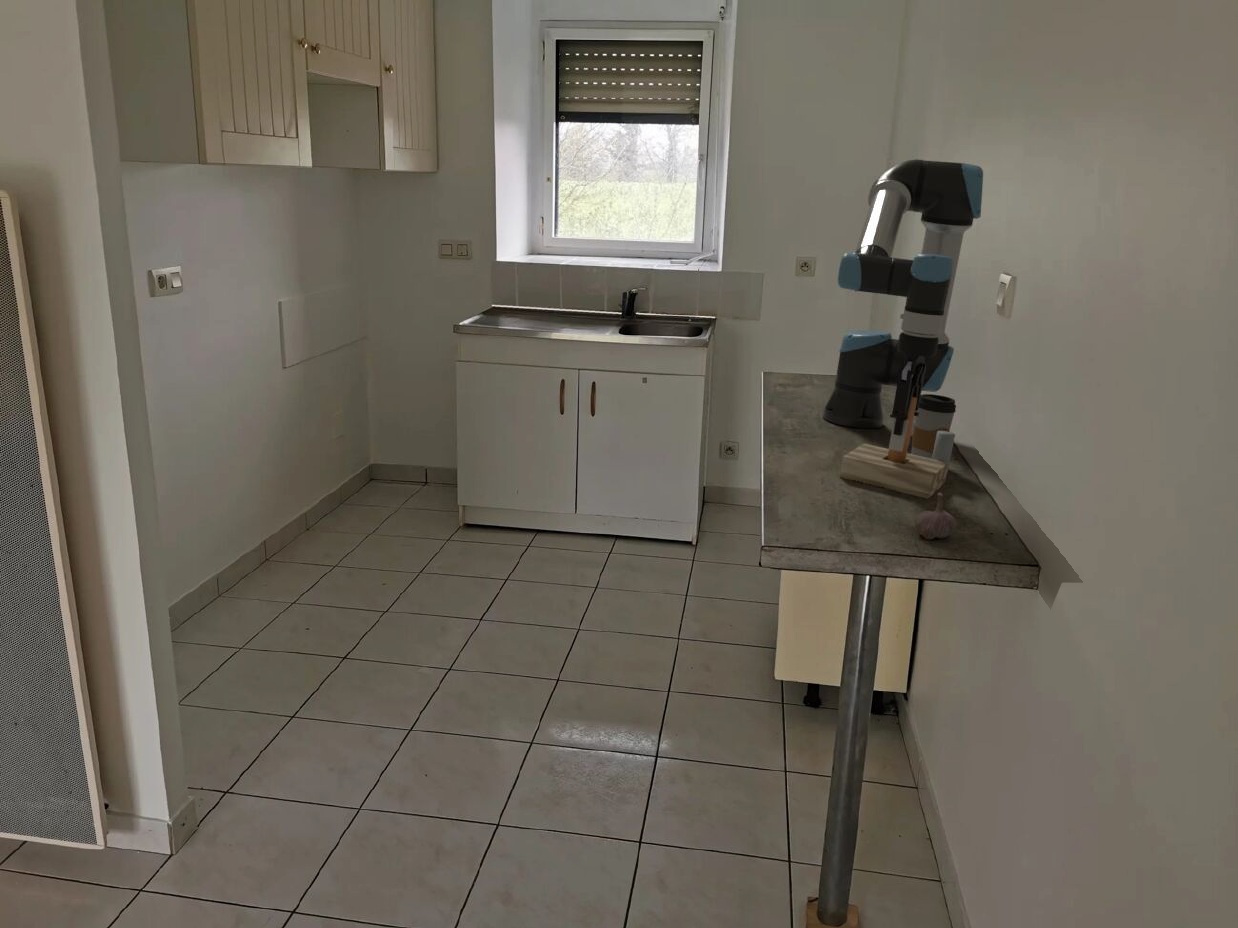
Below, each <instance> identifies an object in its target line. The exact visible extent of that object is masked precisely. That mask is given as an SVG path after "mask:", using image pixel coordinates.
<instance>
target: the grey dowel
mask: <svg viewBox="0 0 1238 928" xmlns="http://www.w3.org/2000/svg"><path fill="white" fill-rule="evenodd" d="M955 438H956V434H955V433H953V432H951V431H950V432H947V431H937V435H936V440H935V445H934V450H933V455H932V459H935V460H940V461H944V462H949V463H948V468H947V473H946V478H945V482H946V481H947V477H948V471H949V466H950V462H951V458H952V452H953V447H954V442H955Z"/></svg>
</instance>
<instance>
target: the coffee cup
mask: <svg viewBox="0 0 1238 928" xmlns="http://www.w3.org/2000/svg"><path fill="white" fill-rule="evenodd" d="M956 408H957V405H956V399H954V398H952V397H949V396H944V395H939V394H931V393H924V394H922V393H921V396H920V401H919V406H918V410H917V411H915V412H918V413H919V415H918V416H915V417H914V418H915V421H914V423H913V433H912V441H911V453H910V454H913V455H917V456H922V457H926V458H931V459H932V455H933V450H934V445H935V440H936V435H937V431H947V432H951V431H950V430H951V426H952V422H953V419H954V416H955V413H956V412H957V411H956Z"/></svg>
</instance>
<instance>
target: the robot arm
mask: <svg viewBox="0 0 1238 928" xmlns="http://www.w3.org/2000/svg"><path fill="white" fill-rule="evenodd" d="M983 185H984V170H983V168H982V167H981V166H979V165H975V164H970V163H966V162H954V161H953V162H951V161H940V160H939V161H937V160H925V159H918V158H917V159H910V160H905V161H902V162H899V163H897V164H895V165H893V166H892V167H890V168H888V169H886V170H885V171H883V173H882V174H880V176H878V177H877V179H876V180H875V181H874V182H873V184H872V186H871V188H870V190H869V194H868V198H867V201H868V202H867V203H868V206H869V208H868V211H867V214H866V218H865V221H864V223H863V227H862V230H861V233H860V236H859V239H858V242H857V246H856V247H855V248H856V249H855V251H854V252H845V253H844V254H843V255H842V256H841V260H840V263H839V269H838V275H837V285H838V286H839V287H840V288H842V289H844V290H849V291H854V292H863V293H872V294H880V295H881V294H882V295H888V296H896V297H902V298H903V297H904V298H906V299H905V306H904V310H903V311H904V312H903V313H901V314H900V317H899V318H900V319H901V320H902V322H901V327H900V329H901V330H902V331H901V332H900V334H899V336H898V339H897V338H896V339H895V338H892V333H891V332H890V331H884V330H873V329H872V330H871V329H870V330H854V331H849V332H847V333H846V334H844V335H843V337H842V341H841V346H840V348H839V357H838V364H837V370H836V375H835V381H834V387H833V390H832V392H831V394H830V396H829V398H828V400H827V401H826V404H825V405H824V407H823V412H822V418H823V419H824V420H825V421H827V422H830V423H833V424H836V425H840V426H844V427H850V428H857V429H878V428H881V427H883V424H884V423H883V422H884V417H885V416H884V411H883V403H882V397H881V393H882V389H883V386H889V387H895V394H894V395H895V396H894V400H893V402H894V403H893V407H892V412H891V414H890V415H889V417H890V419H891V418H893V422H892V428H891V433H890V439H889V444H888V449H891V450H896V451H900V452H902V451H903V447H904V442H905V436H906V431H907V426H908V420H907V419H908V413H909V409H910V404H911V400H912V397H916V398H917V402H916V407H915V413H914V418H915V417H916V416H918V415H919V413H918V412H916V411H917V410H918V406H919V401H920V396H921V395H922V392H929V393H935V392H938V391H939V390H941V388H942V387H943V384H944V382H945V380H946V376H947V374H948V371H949V369H950V365H951V362H952V358H953V355H954V353H955V352H954V347H952V346H951V345H950V338H949V336H948V335H947V334H946V331H945V330H946V326H947V320H948V315H949V310H950V305H951V300H952V296H953V290H954V285H955V279H956V274H957V269H958V264H959V259H960V255H961V249H962V243H963V239H964V233H966V231H968V230H969V229H970V228H972V227H973V224H974V219H976V220H977V219H979V218H981V214H982V201H983V200H982V198H983ZM907 212H915V213H921V217H920V222H921V223H922V225H923V226H924V227H925V232H924V238H923V242H922V243H923V244H922V247H921V248H922V249H921V253H917V254H915V256H914V257H913V259H909V258H908V259H906V258H897V257H892V256H893V252H894V248H895V245H896V240H897V237H898V234H899V230H900V227H901V222H902V218H903V215H905V214H906V213H907ZM914 418H913V420H914ZM912 426H914V422H913V423H912ZM912 428H913V427H912ZM912 428H911V431H912ZM911 434H912V433H911ZM911 434H910V436H911ZM910 440H911V438H910V439H909V441H910ZM909 445H910V443H909V444H908V447H909Z"/></svg>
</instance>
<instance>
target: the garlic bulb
mask: <svg viewBox="0 0 1238 928" xmlns="http://www.w3.org/2000/svg"><path fill="white" fill-rule="evenodd" d="M914 524H915V529H916V532H917V533H918V534H920V535H921V536H923V538H924V539H926V540H933V539H935V538H937V539H943V538H944V539H945V538H946V537H947V538H948V537H949V536H950V535H952V534H953V533H954V532H955V531H956V530H957V526H958V524H957V520H956V518H955V517H954V515H952V514H951V513H949V512H947V511H945V510H944V494H943V493H942V492H937V494H936V507H935V510H933V511H932V510H925V511H922V512H920V513H919V514H918V515H917V516H916V518H915V521H914Z"/></svg>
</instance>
